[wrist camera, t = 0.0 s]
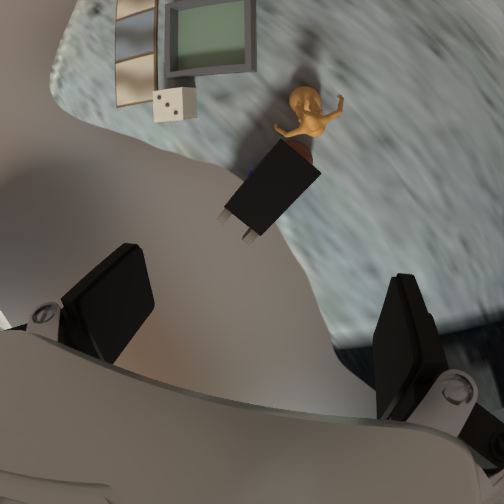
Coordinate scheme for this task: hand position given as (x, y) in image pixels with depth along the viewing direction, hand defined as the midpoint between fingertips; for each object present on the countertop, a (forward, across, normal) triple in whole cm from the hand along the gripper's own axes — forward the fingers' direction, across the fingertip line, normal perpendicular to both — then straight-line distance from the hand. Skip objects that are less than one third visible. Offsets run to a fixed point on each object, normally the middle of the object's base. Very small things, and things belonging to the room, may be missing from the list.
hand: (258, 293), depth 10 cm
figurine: (+31, 0, -6) cm, 32 cm away
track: (+31, +26, -20) cm, 45 cm away
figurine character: (+32, +5, +5) cm, 32 cm away
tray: (+31, +13, -17) cm, 38 cm away
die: (+31, +18, -7) cm, 37 cm away
